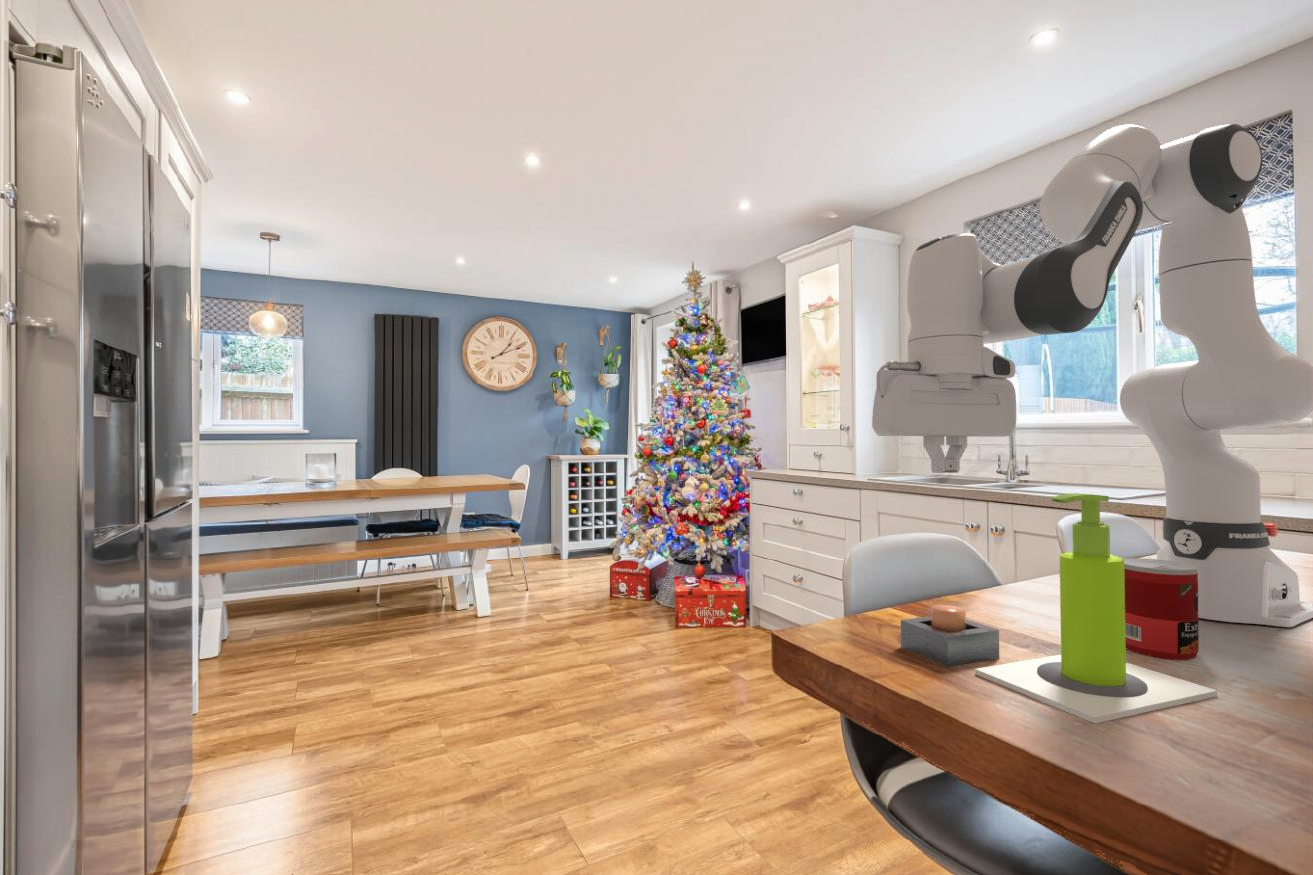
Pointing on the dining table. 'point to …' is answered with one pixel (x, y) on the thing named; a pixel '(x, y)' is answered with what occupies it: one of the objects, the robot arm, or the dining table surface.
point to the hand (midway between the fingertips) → (945, 472)
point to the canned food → (1161, 608)
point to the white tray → (1095, 689)
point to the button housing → (950, 642)
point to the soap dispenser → (1092, 600)
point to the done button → (948, 618)
